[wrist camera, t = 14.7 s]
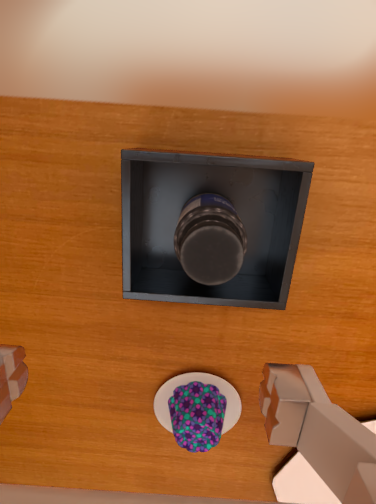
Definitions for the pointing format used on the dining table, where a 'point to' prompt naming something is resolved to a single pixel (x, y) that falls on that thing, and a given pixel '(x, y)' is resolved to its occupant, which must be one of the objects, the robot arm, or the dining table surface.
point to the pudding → (197, 409)
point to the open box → (246, 205)
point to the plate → (305, 480)
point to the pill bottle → (210, 239)
